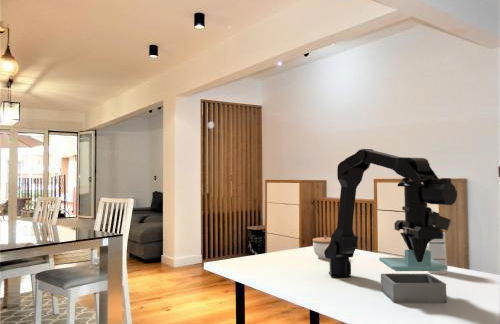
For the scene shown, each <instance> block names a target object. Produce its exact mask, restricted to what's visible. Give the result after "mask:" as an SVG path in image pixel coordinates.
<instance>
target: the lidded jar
mask: <svg viewBox="0 0 500 324" xmlns="http://www.w3.org/2000/svg"><path fill="white" fill-rule="evenodd" d="M330 241H331V237H329V236H327V234H326V235H325V234H324V235H323V236H322V237H314V238H312V248H313V251H314V254H315V255H316V256H317V257H318V259H321V260H329V258H326V257H325V254H324V251H325V250H326V248H327V247H328V246H329V244H330Z"/></svg>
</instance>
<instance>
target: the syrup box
mask: <svg viewBox="0 0 500 324" xmlns="http://www.w3.org/2000/svg"><path fill="white" fill-rule="evenodd" d="M426 250H429V251H431V259H433V260H435V261H437V262H440V263H442V264H444V265H446V266H447V267H448V264H447V244H446V232H444V231H443V239H434V240H431V241H430V242H429V243H428V244H427V247H426ZM427 272H429V274H434V275H438V274H439V275H447V274H448V268H447V269H440V271H427Z"/></svg>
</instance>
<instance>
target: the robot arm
mask: <svg viewBox="0 0 500 324" xmlns="http://www.w3.org/2000/svg"><path fill="white" fill-rule="evenodd" d="M371 164H373V165H376V166H380V167H383V168H387V169H390V170H391V171H394V172H395V174H397V175H398V176H400V177H402V179H401V180H400V181H399V182H398V183H397V187H403V190H404V192H403V193H404V205H403V206H402V207H401V209H402V211H404V219H397V220H396V221H395V222H394V223H393V224H394V226H393V227H394V230H395V231H399V232H400V230H402V232H400V235H401V237H402V239H403V241H404V243H405V245H406V247H407V250H413V251H414V254H415V256H416V259H417V261H418V262H422V260H423V257H424V253H425V250H426V247H427V244H428V243H429V242H430V241H431V240H434V239H443V232H444V231H443V230H445V231H446V232H447V231H448V230H449V228H450V224H451V221H452V219H451V218H447V217H445V216H441V215H440V213H439V212H437V211H435V210H432V208H431V207H430V206H429V207H428V205H429V204H430V205H439V206H440V205H441V206H442V205H443V206H453V205H454V204H455V203H456V201H457V198H458V190H457V189H456V187H455V185H454V184H453V183H452V178H450V177H447V178H443V177H440V178H439V176H438V175H437V174H436V173H435V171H434V170H433V169H432V167H431V165H430V163H429V160H428V159H427V158H424V157H406V156H404V157H403V156H398V155H394V154H389V153H386V152H381V151H377V150H374V149H372V148H361V149H359V150H357V151H356V152H355V153H354V154H352V155H350V156H348V157H346V158H345V159H344V160H342V161H340V162H339V163H338V165H337V167H336V168H337V170H336V172H337V173H336V174H337V180H338V183H339V185H340V194H339V205H338V214H337V225H336V228H335V229H334V231H333V233H332V234H331V236H330V238H331V241H330V244H329V246H328V247H327V248H326V250H325V251H324V254H325V257H326V258H329V259H328V260H329V263H328V264H329V271H328V274H329V275H330V277H331V278H336V279H337V278H348V279H349V278H352V277H351V275H352V263H351V262H350V258H353V257H354V255H355V254H354V253H355V251H356V249H357V248H358V239H359V236H358V235H355V232H354V230H353V223H354V215H355V204H356V195H357V189H358V186H359V185H360V184H361V182H362V180H363V176H364V173H365V172H366V171H367V170H369V168H370V166H371Z"/></svg>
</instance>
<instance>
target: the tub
mask: <svg viewBox="0 0 500 324" xmlns="http://www.w3.org/2000/svg"><path fill="white" fill-rule="evenodd" d="M380 286H381V287H380V289H381V292H382V293H383V294H384V295H385V296H386V297H387V298H388V299H389V300H390V301H392V303H393V304H399V303H401V304H402V303H403V304H404V303H405V304H406V303H407V304H408V303H409V304H412V303H413V304H414V303H418V304H419V303H420V304H421V303H422V304H427V303H428V304H431V303H432V304H434V303H435V304H436V303H437V304H438V303H440V304H441V303H444V304H446V303H447V302H448V301H447V298H448V297H447V284H446V283H445V282H444V281H442V280H440V279H439V278H437V277H435V276H433V275H431V273H380Z"/></svg>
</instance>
